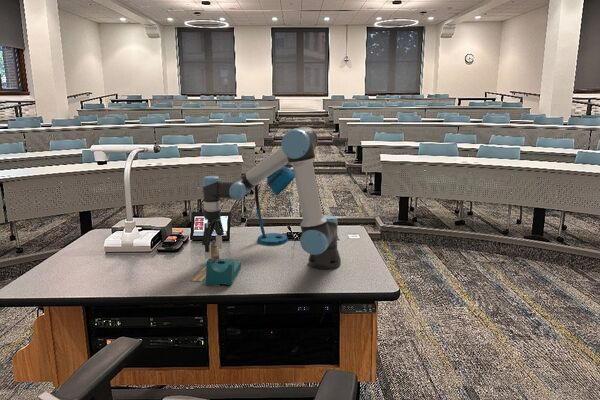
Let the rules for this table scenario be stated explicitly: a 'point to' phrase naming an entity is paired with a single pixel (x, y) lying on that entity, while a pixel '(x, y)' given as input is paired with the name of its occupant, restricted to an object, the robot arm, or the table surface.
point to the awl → (214, 251)
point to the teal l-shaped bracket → (221, 271)
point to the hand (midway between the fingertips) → (213, 253)
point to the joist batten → (200, 276)
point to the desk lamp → (277, 184)
